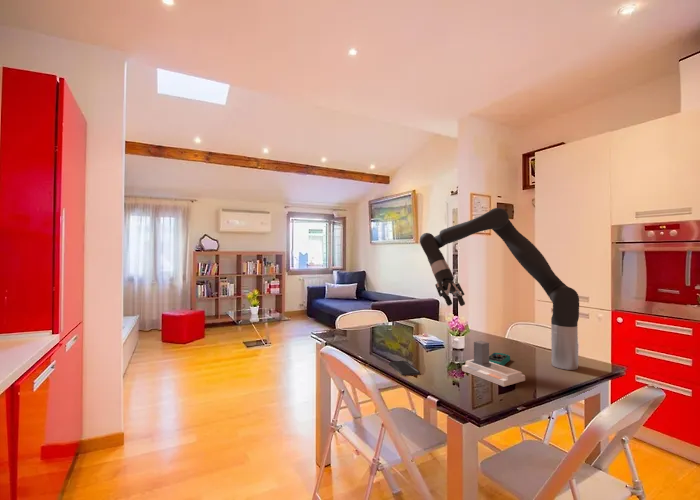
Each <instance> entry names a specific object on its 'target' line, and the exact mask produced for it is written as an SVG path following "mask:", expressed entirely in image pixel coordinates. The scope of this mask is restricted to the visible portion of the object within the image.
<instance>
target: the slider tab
mask: <svg viewBox="0 0 700 500" xmlns="http://www.w3.org/2000/svg"><path fill="white" fill-rule="evenodd" d="M489 356H490V342H487V341H483V340H477V341H476V340H475V341H473V359H474V361H473V363H476V364H478V365H481V366H484V367H491V363H489Z"/></svg>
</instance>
